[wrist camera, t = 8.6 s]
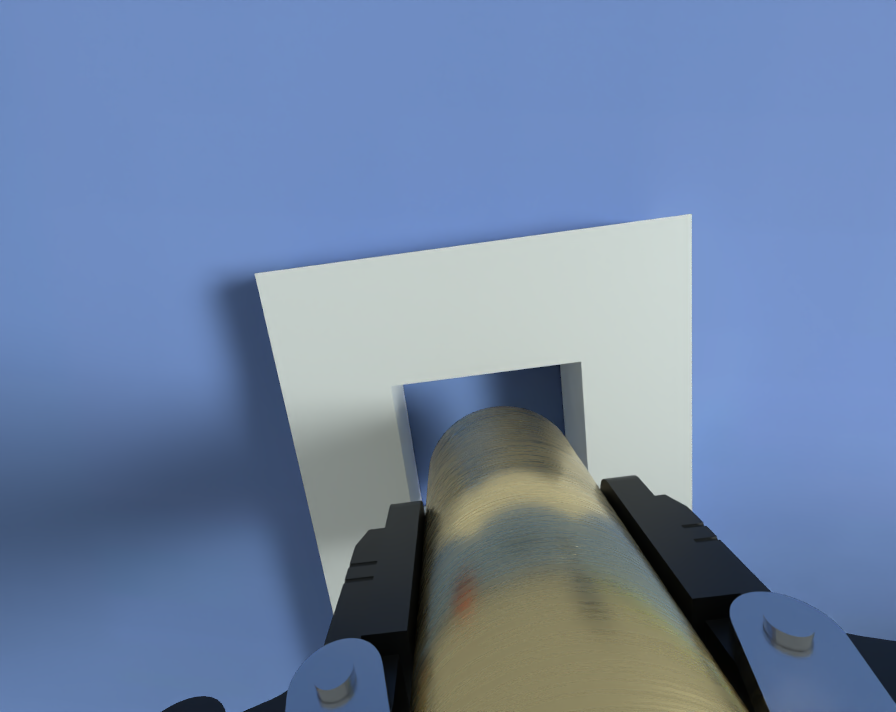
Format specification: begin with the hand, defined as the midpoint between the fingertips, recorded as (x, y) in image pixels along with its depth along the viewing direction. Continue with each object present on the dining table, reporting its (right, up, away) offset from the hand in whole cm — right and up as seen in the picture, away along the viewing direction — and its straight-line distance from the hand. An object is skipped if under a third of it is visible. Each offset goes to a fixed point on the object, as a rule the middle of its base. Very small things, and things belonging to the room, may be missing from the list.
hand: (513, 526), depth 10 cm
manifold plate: (+1, -4, +7) cm, 8 cm away
